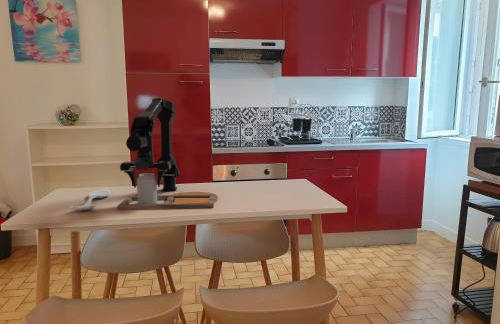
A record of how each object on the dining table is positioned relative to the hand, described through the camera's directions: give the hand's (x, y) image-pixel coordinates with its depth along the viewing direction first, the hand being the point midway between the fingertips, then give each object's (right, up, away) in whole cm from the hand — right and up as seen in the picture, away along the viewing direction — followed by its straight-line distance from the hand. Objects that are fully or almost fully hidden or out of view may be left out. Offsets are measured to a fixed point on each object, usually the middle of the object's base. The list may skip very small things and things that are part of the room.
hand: (147, 187), depth 154 cm
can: (0, -7, +1) cm, 7 cm away
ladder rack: (+8, -7, +1) cm, 11 cm away
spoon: (-23, -7, +3) cm, 24 cm away
